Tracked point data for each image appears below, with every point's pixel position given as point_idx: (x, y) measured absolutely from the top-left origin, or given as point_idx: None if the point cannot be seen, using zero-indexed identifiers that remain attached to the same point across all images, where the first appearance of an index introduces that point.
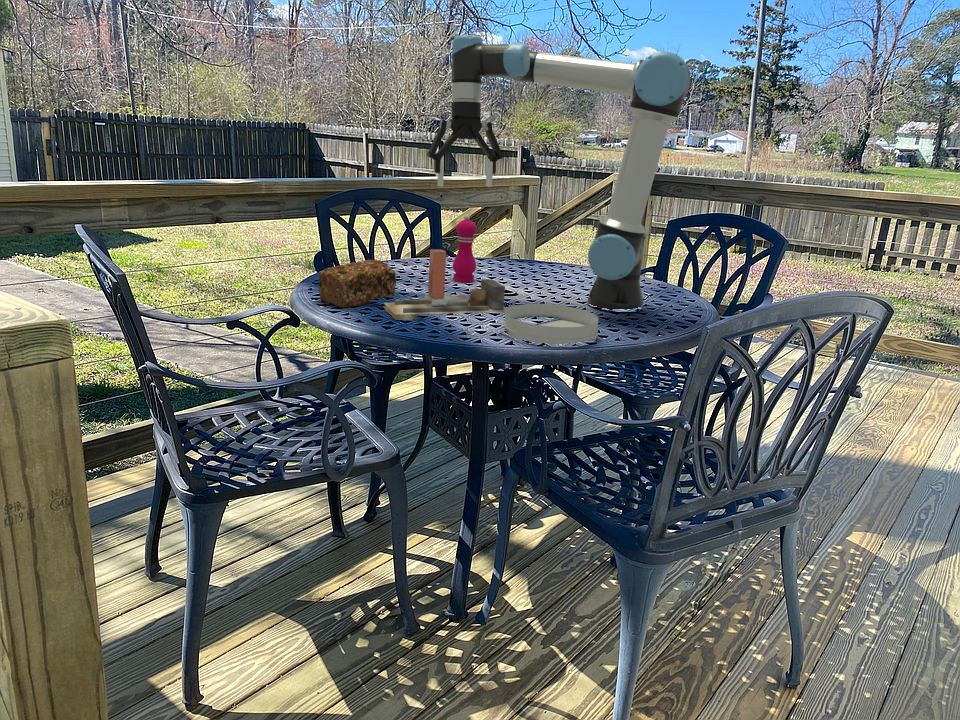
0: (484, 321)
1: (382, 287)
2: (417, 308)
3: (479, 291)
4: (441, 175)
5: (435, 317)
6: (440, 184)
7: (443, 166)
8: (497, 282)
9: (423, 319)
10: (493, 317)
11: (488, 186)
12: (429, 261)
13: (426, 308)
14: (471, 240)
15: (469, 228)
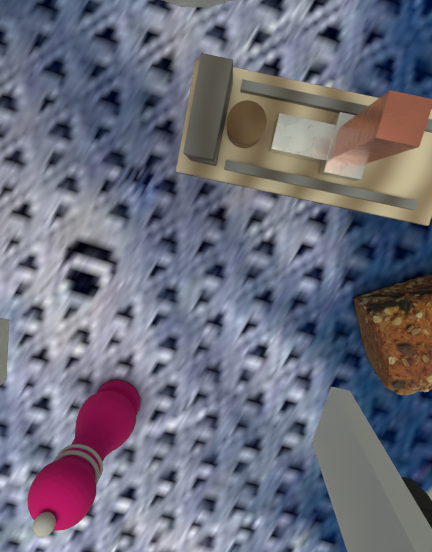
0: (275, 48)
1: (402, 292)
2: None
3: (250, 109)
4: (373, 440)
5: None
6: (352, 402)
7: (389, 502)
8: (191, 110)
9: None
10: None
11: (7, 340)
12: (400, 152)
13: None
14: (70, 448)
15: (64, 471)
